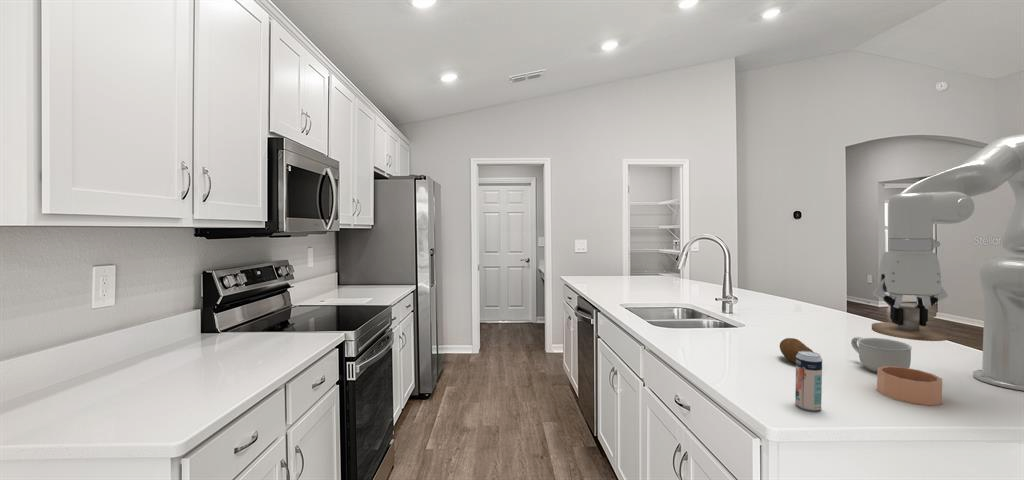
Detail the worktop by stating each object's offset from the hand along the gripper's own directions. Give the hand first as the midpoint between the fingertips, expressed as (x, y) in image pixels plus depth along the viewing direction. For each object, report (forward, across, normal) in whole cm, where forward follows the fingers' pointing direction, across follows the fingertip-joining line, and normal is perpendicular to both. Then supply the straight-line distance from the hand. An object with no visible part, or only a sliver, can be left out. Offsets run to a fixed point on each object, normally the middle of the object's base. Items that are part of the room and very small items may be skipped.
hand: (908, 323), depth 96 cm
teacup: (+17, -3, -19) cm, 26 cm away
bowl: (+17, 0, 0) cm, 17 cm away
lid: (+2, 0, 0) cm, 2 cm away
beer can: (+17, +25, +15) cm, 33 cm away
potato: (+17, +17, -18) cm, 30 cm away
